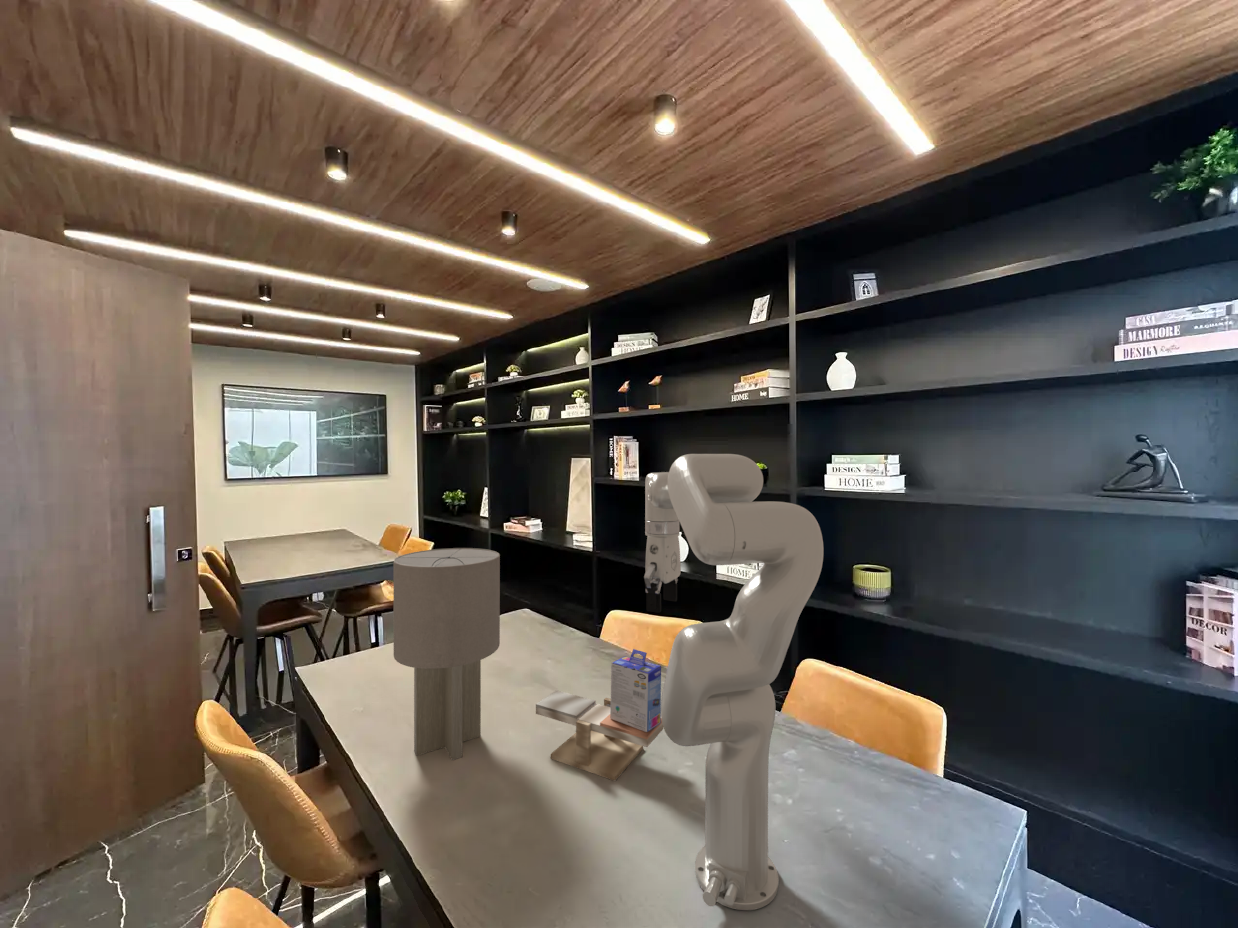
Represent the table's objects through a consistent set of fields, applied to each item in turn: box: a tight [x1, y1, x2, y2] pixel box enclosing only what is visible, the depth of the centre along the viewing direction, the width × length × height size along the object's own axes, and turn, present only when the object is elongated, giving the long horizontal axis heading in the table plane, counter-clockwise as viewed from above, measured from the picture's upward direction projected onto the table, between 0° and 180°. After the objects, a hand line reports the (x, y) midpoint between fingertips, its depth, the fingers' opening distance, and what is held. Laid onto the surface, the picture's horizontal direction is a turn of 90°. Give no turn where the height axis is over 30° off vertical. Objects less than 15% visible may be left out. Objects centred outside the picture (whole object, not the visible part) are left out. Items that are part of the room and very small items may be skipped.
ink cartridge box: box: [610, 648, 662, 732], centre depth 108 cm, size 10×6×14 cm, turn 54°
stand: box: [550, 697, 644, 781], centre depth 112 cm, size 16×13×10 cm
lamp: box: [393, 547, 501, 761], centre depth 116 cm, size 23×23×43 cm
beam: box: [535, 689, 664, 748], centre depth 112 cm, size 28×10×2 cm, turn 61°
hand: (662, 605), depth 112 cm, fingers open, 9 cm apart
